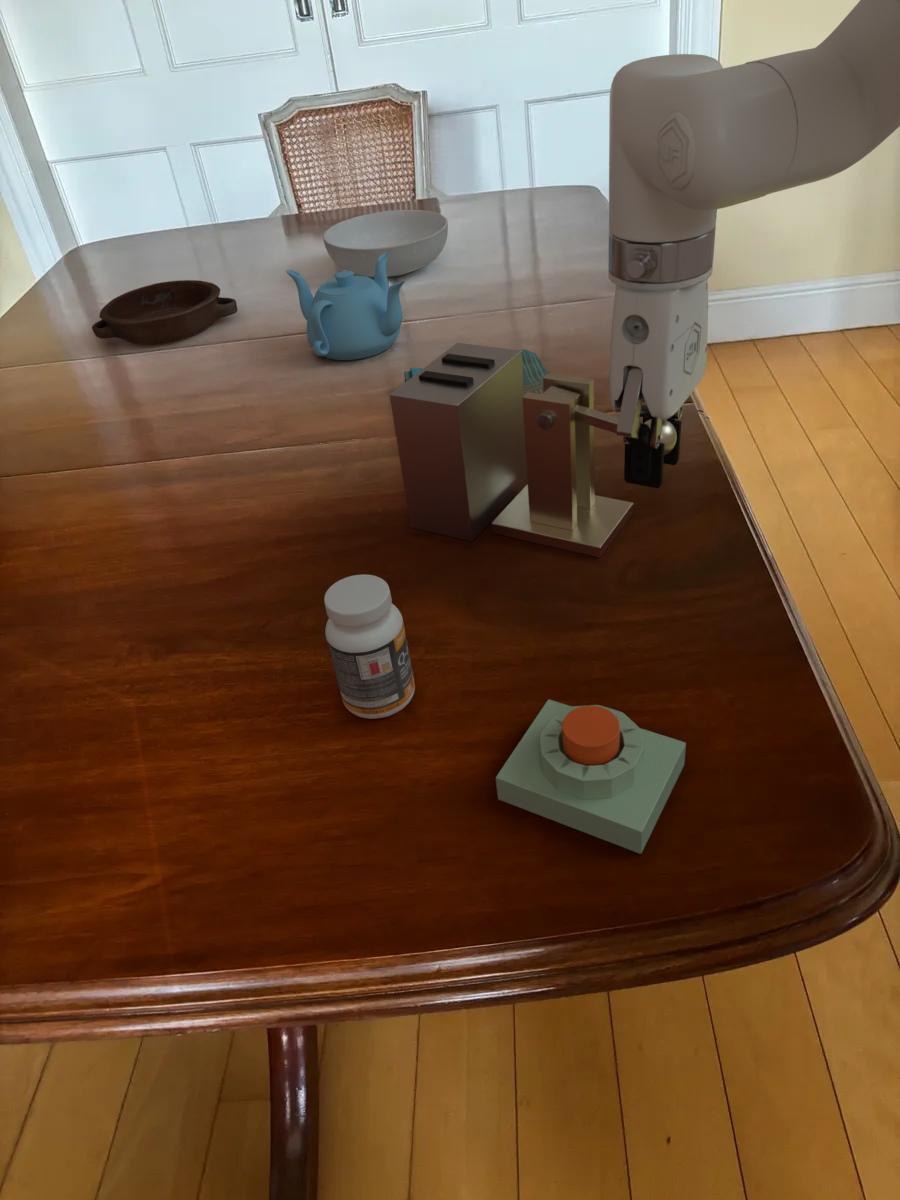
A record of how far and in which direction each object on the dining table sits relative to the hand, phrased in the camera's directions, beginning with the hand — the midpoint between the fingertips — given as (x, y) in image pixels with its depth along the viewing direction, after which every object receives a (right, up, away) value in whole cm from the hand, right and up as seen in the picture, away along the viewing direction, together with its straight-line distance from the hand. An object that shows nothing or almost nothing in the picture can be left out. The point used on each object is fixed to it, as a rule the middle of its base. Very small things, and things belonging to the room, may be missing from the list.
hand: (651, 470), depth 77 cm
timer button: (-8, -20, -19) cm, 29 cm away
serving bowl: (-27, +45, +76) cm, 92 cm away
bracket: (-7, -4, +8) cm, 11 cm away
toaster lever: (-4, +3, 0) cm, 5 cm away
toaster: (-15, -1, +13) cm, 20 cm away
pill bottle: (-23, -19, -8) cm, 30 cm away
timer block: (-8, -23, -17) cm, 30 cm away
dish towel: (-13, +11, +28) cm, 33 cm away
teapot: (-30, +25, +50) cm, 64 cm away
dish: (-61, +31, +63) cm, 93 cm away
